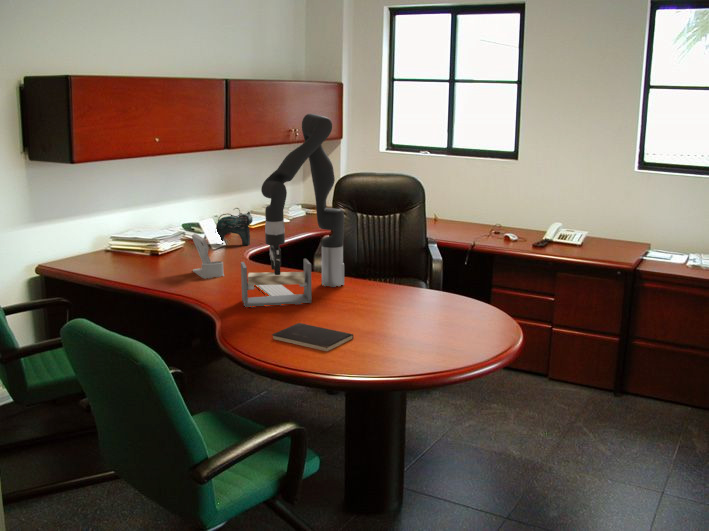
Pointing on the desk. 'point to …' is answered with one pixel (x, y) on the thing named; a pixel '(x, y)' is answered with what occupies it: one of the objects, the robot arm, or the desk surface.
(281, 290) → the baseboard
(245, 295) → the shelf frame
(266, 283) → the shelf board
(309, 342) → the hardcover book
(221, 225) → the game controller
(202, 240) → the phone holder
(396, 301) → the desk surface
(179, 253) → the desk surface
